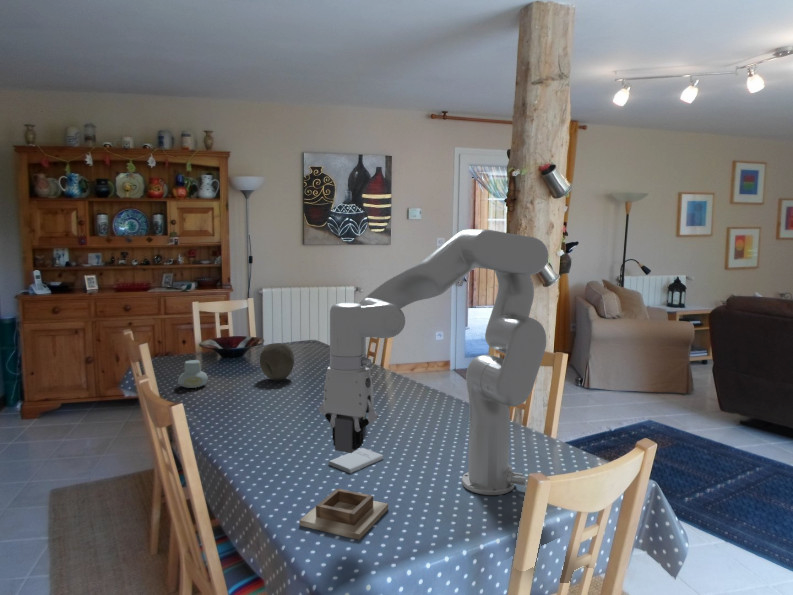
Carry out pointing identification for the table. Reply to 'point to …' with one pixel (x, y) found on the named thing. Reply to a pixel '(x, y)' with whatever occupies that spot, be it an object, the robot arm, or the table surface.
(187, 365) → the air freshener
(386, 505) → the end holder
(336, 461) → the external hard drive
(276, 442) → the table surface
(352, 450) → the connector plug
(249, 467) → the table surface
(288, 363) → the cantaloupe
